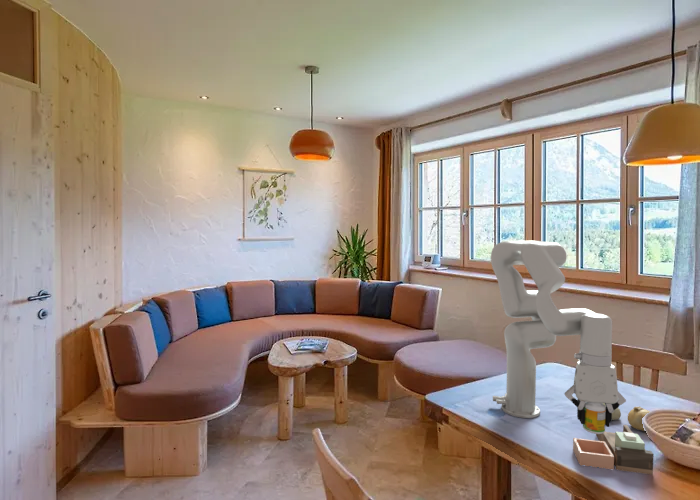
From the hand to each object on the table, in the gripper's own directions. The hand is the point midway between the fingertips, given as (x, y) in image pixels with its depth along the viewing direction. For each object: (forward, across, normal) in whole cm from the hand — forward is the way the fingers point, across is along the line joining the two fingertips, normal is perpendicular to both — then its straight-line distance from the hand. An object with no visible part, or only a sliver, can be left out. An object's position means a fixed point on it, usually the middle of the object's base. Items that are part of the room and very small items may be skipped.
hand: (594, 422), depth 119 cm
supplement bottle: (+2, 0, 0) cm, 2 cm away
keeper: (+9, +9, 0) cm, 13 cm away
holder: (+11, 0, 0) cm, 11 cm away
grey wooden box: (+11, +9, +6) cm, 15 cm away
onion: (+11, +20, +24) cm, 33 cm away
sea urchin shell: (+11, +11, +31) cm, 35 cm away
